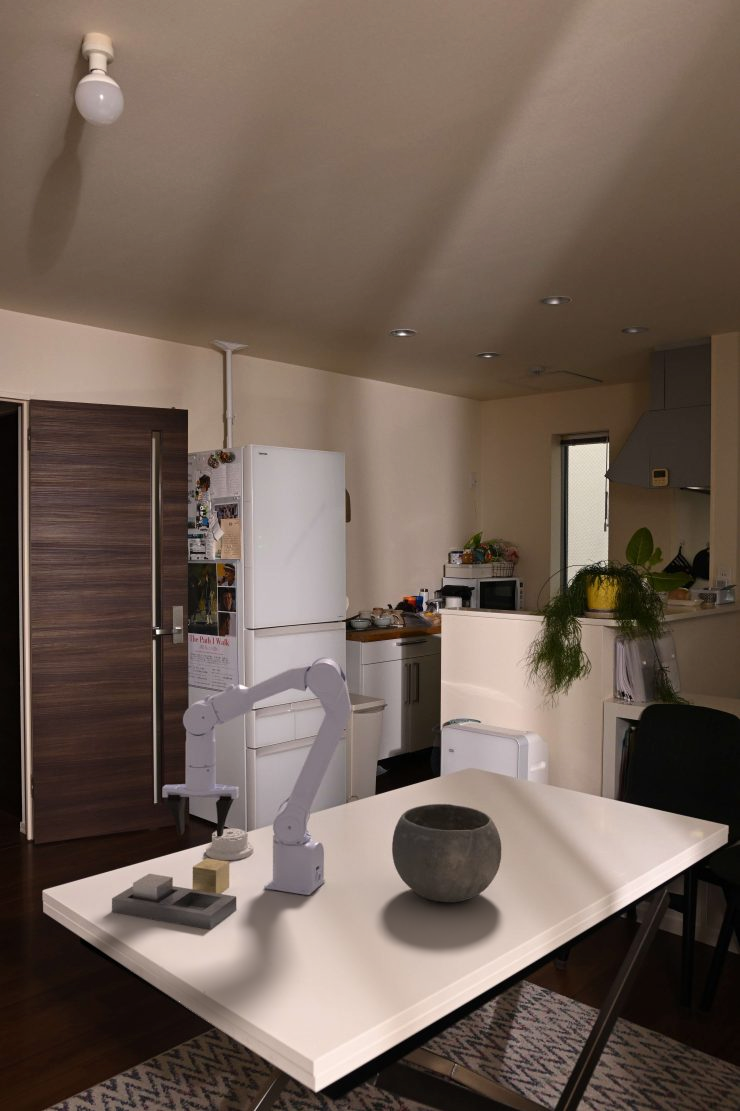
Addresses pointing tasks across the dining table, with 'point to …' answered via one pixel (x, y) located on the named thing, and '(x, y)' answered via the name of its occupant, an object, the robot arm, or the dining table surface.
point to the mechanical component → (229, 845)
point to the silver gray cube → (153, 888)
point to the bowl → (446, 851)
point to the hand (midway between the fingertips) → (200, 834)
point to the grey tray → (179, 907)
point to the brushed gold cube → (211, 876)
